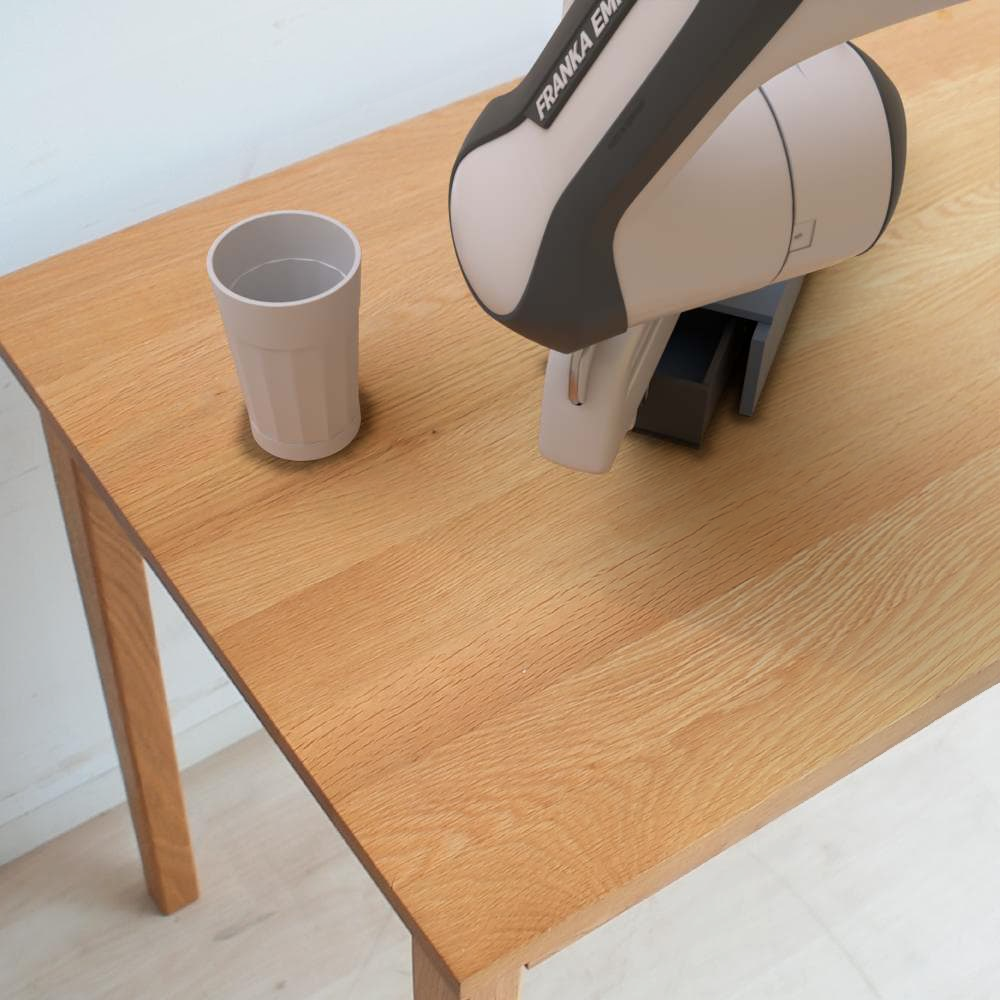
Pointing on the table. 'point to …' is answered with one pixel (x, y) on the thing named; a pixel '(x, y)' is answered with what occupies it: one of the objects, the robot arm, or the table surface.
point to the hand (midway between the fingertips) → (624, 412)
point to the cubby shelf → (761, 330)
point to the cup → (293, 327)
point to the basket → (691, 376)
